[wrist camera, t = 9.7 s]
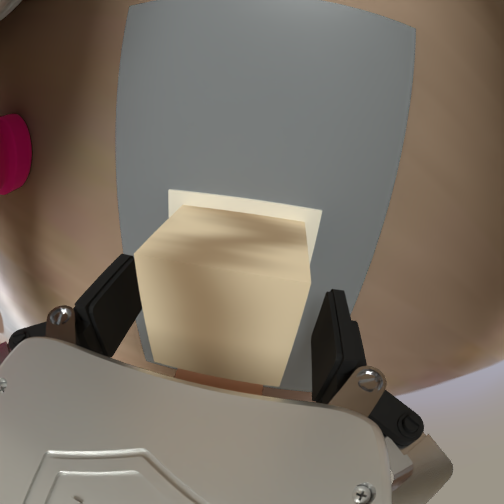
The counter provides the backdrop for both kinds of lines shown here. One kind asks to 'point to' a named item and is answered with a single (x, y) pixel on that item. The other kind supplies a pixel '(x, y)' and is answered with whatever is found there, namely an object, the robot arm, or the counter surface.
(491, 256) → the counter surface
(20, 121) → the pepper mill
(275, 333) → the maple block
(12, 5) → the bowl
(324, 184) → the board
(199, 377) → the terracotta cube
